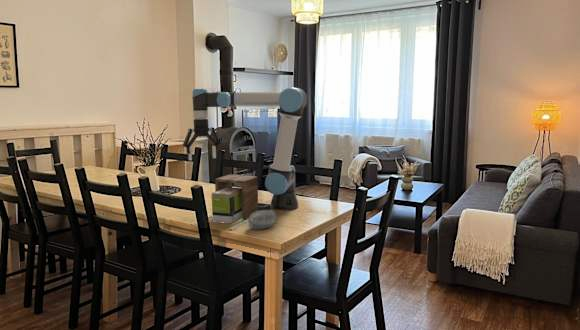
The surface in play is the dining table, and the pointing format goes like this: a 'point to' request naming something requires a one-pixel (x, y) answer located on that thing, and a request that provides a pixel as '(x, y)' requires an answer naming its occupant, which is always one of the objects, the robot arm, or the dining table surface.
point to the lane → (235, 225)
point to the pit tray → (264, 206)
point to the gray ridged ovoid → (262, 219)
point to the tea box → (227, 205)
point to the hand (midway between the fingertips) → (202, 159)
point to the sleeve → (247, 191)
